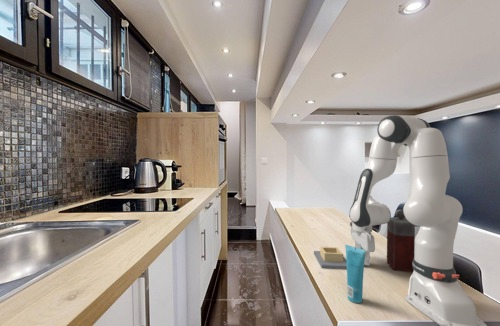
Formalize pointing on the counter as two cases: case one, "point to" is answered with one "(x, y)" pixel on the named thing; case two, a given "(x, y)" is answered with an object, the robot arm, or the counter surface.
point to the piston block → (367, 260)
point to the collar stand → (331, 258)
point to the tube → (355, 273)
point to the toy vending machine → (400, 243)
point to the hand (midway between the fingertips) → (362, 254)
